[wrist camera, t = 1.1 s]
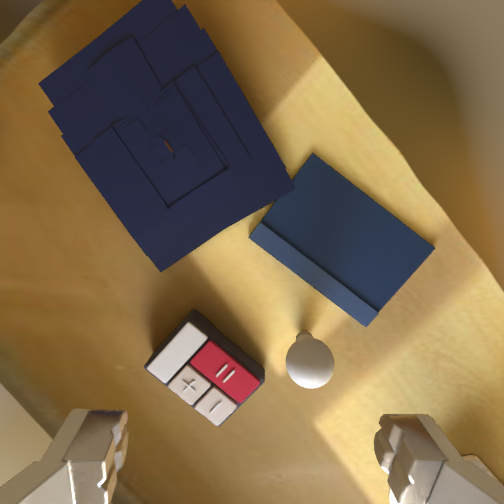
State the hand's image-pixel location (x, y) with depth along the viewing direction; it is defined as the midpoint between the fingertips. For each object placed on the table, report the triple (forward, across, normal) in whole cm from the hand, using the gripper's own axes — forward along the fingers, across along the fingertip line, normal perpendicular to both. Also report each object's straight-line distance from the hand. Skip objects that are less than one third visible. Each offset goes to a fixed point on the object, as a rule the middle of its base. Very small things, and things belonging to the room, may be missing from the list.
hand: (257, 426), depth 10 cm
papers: (+40, -10, +8) cm, 42 cm away
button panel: (+34, -2, -25) cm, 42 cm away
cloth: (+34, +16, -3) cm, 38 cm away
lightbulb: (+32, +12, -18) cm, 39 cm away
